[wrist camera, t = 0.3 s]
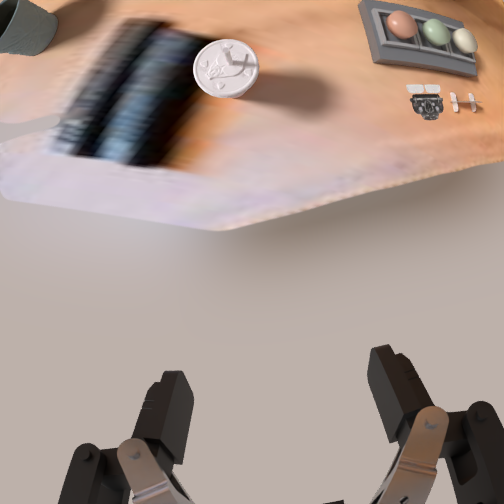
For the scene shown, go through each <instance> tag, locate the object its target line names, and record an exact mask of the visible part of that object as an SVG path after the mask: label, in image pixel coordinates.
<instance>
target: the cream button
mask: <svg viewBox="0 0 504 504" xmlns="http://www.w3.org/2000/svg"><path fill="white" fill-rule="evenodd" d="M452 38H453V41H454V43H455V45H456V46H457V48H458V49H459V50H460V51H461V52H463V53H466V54H468V53H472V52H475V51H477V47H478V46H477V42H476V39H475V37H474V36H473V35H472V33H471V32H470V31H469V30H467V29H465V28H460V29H458V30H455V31H454V32H453V33H452Z"/></svg>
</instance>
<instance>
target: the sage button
mask: <svg viewBox="0 0 504 504" xmlns="http://www.w3.org/2000/svg"><path fill="white" fill-rule="evenodd" d="M422 31H423V34H424V36H425V37H426V39H427V40H428V41H429V42H430V43H432V44H433V45H436V46H441V45H444V44H446V43H449V42H450V39H451V36H450V33H449V30H448V29H447V27H446V26H445V25H444V24H443V23H442V22H441V21H439V20H437V19H430V20H428V21H427V22H425V23H423V25H422Z"/></svg>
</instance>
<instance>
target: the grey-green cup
mask: <svg viewBox="0 0 504 504" xmlns="http://www.w3.org/2000/svg"><path fill="white" fill-rule="evenodd" d="M57 27H58V20H57V18H56V16H55V15H53V14H52V13H48V12H47V11H46V10H45V9H43V8H41V7H38V6H37V5H36V4H34V3H32V2H30V1H28V0H3V1H2V2H1V3H0V53H9V54H20V55H26V56H35V55H37V54H39V53H40V52H42V51H43V50H44V49H45V48H46V47H47V46H48V45H49V43H50V42H51V41H52V39H53V37H54V35H55V33H56V30H57Z"/></svg>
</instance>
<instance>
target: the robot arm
mask: <svg viewBox="0 0 504 504" xmlns="http://www.w3.org/2000/svg"><path fill="white" fill-rule="evenodd" d="M367 377H368V383H369V386H370V389H371V391H372V394H373V397H374V400H375V402H376V405H377V408H378V411H379V414H380V416H381V419H382V422H383V425H384V428H385V431H386V434H387V437H388V440H389V443H393V442H396V441H398V444H399V446H400V447H399V449H398V451H397V454H396V456H395V458H394V460H393V462H392V465H391V467H390V469H389V471H388V473H387V475H386V477H385V479H384V481H383V483H382V485H381V486H380V488H379V490H378V491H377V492H376V494H375V496H374V497H373V499H372V501H371V503H370V504H425V502H426V500H427V498H428V495H429V493H430V491H431V488H432V486H433V483H434V480H435V478H436V474H437V470H436V464H437V461H438V458H445V460H446V463H447V467H448V470H449V473H450V477H451V480H452V484H453V487H454V491H455V495H456V498H457V503H458V504H504V428H503V426H502V424H501V422H500V420H499V418H498V416H497V414H496V412H495V410H494V408H493V406H492V405H491V404H489V403H487V402H484V401H478V402H475V403H473V404H472V405H471V406H470V407H469V409H468V410H467V411H460V412H445V411H444V410H443V409H441V408H440V407H437V406H435V405H434V404H433V402H432V400H431V398H430V396H429V394H428V392H427V390H426V389H425V387H424V385H423V383H422V381H421V379H420V378H419V375H418V374H417V372H416V371H415V368H414V366H413V365H412V363H411V361H410V360H409V359H408V358H407V357H405V356H404V355H403V354H402V353H399V354H396V355H395V354H394V352H393V350H392V348H391V346H390V345H389V344H387V345H383V346H379V347H374V348H372V349H371V353H370V360H369V365H368V371H367ZM193 405H194V396H193V392H192V390H191V388H190V386H189V384H188V381H187V379H186V377H185V375H184V373H183V372H182V371H165V372H164V373H163V375H162V379H161V381H160V382H155V383H154V384H153V385H152V386H151V387H150V388H149V390H148V391H147V394H146V397H145V402H144V403H143V406H142V409H141V411H140V414H139V417H138V420H137V423H136V426H135V429H134V432H133V435H132V437H131V439H128V440H125V441H124V442H123V443H121V445H120V446H119V447H118V448H112V449H102V450H100V449H98V448H97V447H96V446H95V445H93V444H91V443H85V444H82V445H80V446H79V447H77V449H76V450H75V452H74V454H73V457H72V460H71V463H70V466H69V469H68V472H67V475H66V478H65V481H64V485H63V488H62V491H61V495H60V498H59V502H58V504H128V501H129V496H130V490H131V489H132V491H133V493H134V497H133V498H132V500H133V504H195V503H194V502H193V501H192V499H191V498H190V496H189V495H188V494H187V492H186V491H185V489H184V488H183V486H182V485H181V483H180V482H179V480H178V479H177V477H176V476H175V474H174V473H173V471H172V469H173V465H174V464H180V465H182V463H183V458H184V452H185V447H186V441H187V437H188V431H189V426H190V421H191V415H192V410H193ZM325 504H344V500H341V501H336V502H330V503H325Z"/></svg>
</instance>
